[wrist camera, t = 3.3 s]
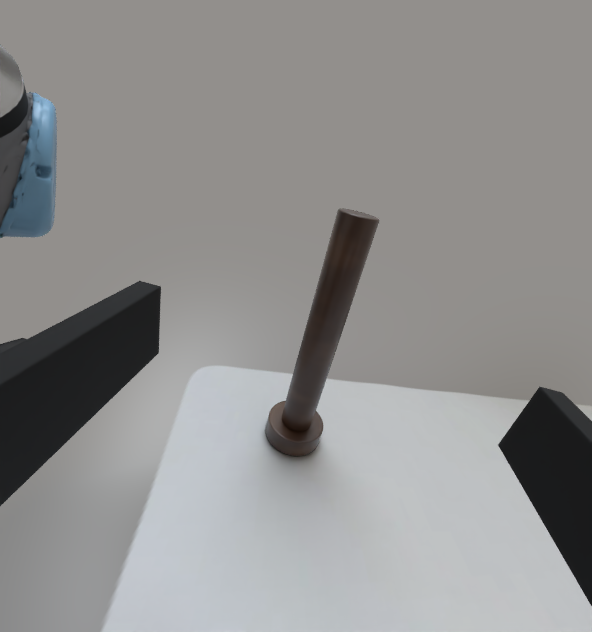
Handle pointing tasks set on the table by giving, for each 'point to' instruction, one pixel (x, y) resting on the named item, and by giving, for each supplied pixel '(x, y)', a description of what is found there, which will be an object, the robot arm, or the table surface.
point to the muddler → (322, 334)
